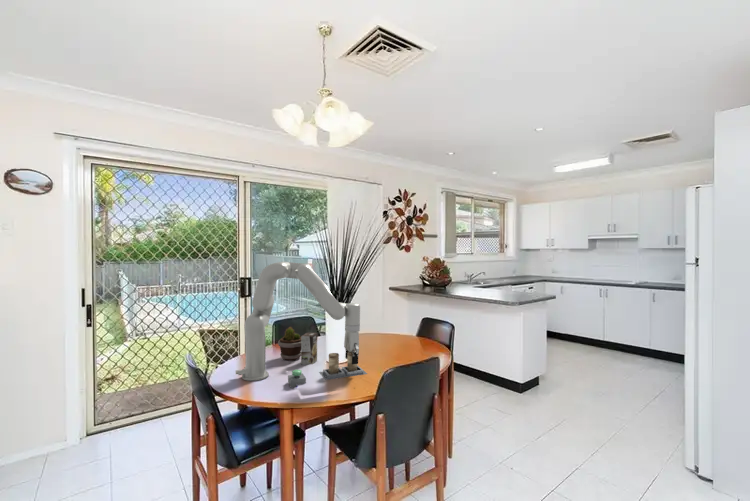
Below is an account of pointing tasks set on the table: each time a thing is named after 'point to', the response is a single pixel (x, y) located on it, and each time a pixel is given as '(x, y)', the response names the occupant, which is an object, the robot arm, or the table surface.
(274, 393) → the table surface
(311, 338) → the coffee box
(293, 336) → the flowerpot
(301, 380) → the console
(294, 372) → the button
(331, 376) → the tray
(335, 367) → the cylinder
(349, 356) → the cylinder
